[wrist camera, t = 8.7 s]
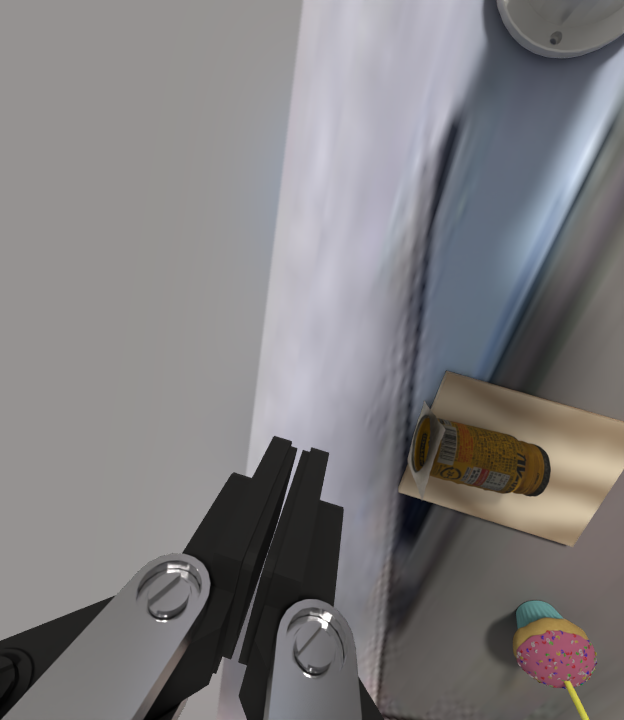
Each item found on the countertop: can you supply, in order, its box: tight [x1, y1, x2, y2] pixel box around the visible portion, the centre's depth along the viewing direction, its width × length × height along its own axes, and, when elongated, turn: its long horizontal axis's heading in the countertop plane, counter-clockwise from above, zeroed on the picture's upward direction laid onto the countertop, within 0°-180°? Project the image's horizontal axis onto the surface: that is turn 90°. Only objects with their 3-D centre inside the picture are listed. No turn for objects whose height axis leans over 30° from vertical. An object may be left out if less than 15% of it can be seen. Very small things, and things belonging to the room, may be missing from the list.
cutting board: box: [398, 371, 624, 547], centre depth 38 cm, size 16×21×1 cm
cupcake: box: [513, 601, 597, 720], centre depth 38 cm, size 9×8×12 cm
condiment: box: [408, 401, 551, 500], centre depth 34 cm, size 7×8×12 cm
